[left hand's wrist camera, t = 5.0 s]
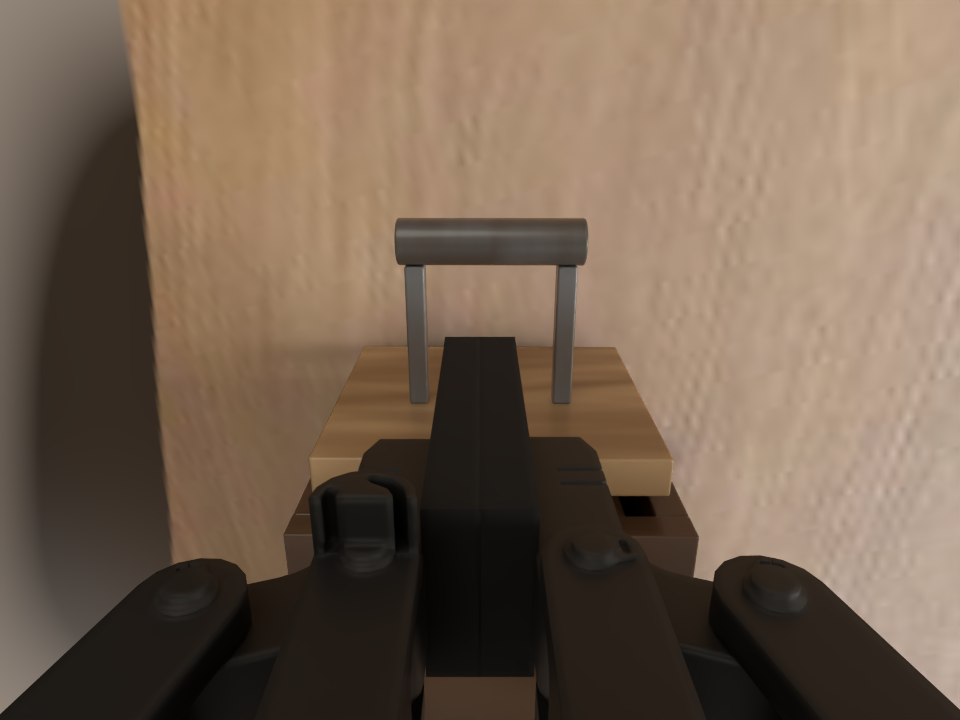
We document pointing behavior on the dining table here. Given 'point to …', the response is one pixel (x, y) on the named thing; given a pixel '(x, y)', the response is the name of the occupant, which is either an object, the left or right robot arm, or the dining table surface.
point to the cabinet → (511, 700)
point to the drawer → (544, 370)
